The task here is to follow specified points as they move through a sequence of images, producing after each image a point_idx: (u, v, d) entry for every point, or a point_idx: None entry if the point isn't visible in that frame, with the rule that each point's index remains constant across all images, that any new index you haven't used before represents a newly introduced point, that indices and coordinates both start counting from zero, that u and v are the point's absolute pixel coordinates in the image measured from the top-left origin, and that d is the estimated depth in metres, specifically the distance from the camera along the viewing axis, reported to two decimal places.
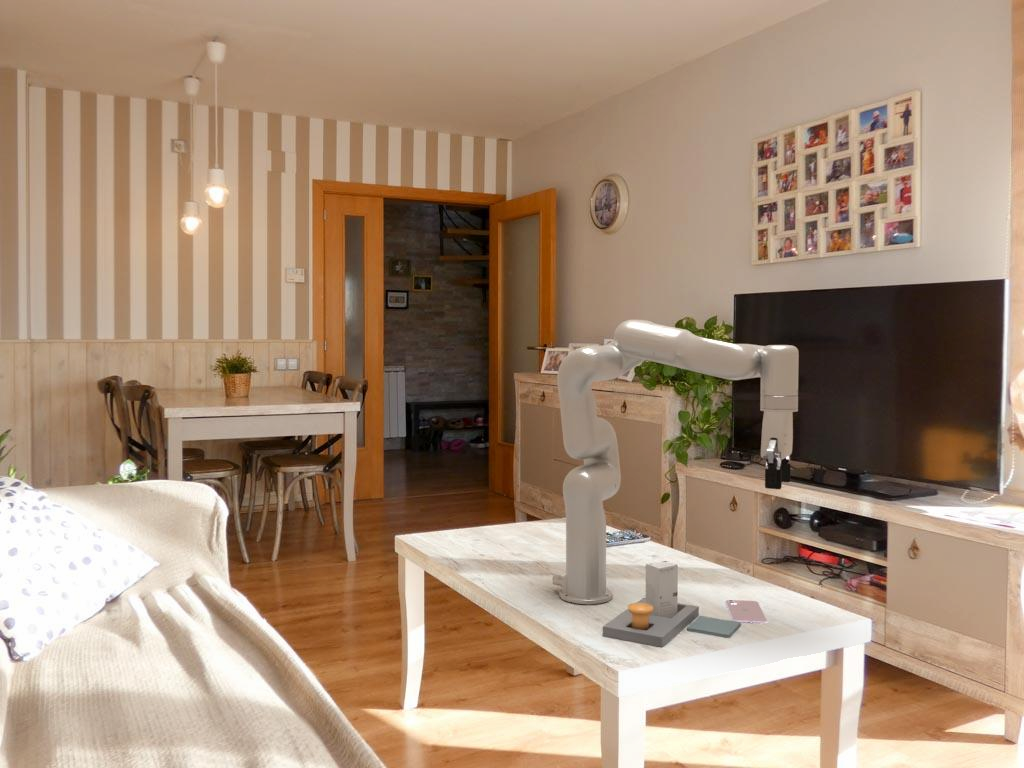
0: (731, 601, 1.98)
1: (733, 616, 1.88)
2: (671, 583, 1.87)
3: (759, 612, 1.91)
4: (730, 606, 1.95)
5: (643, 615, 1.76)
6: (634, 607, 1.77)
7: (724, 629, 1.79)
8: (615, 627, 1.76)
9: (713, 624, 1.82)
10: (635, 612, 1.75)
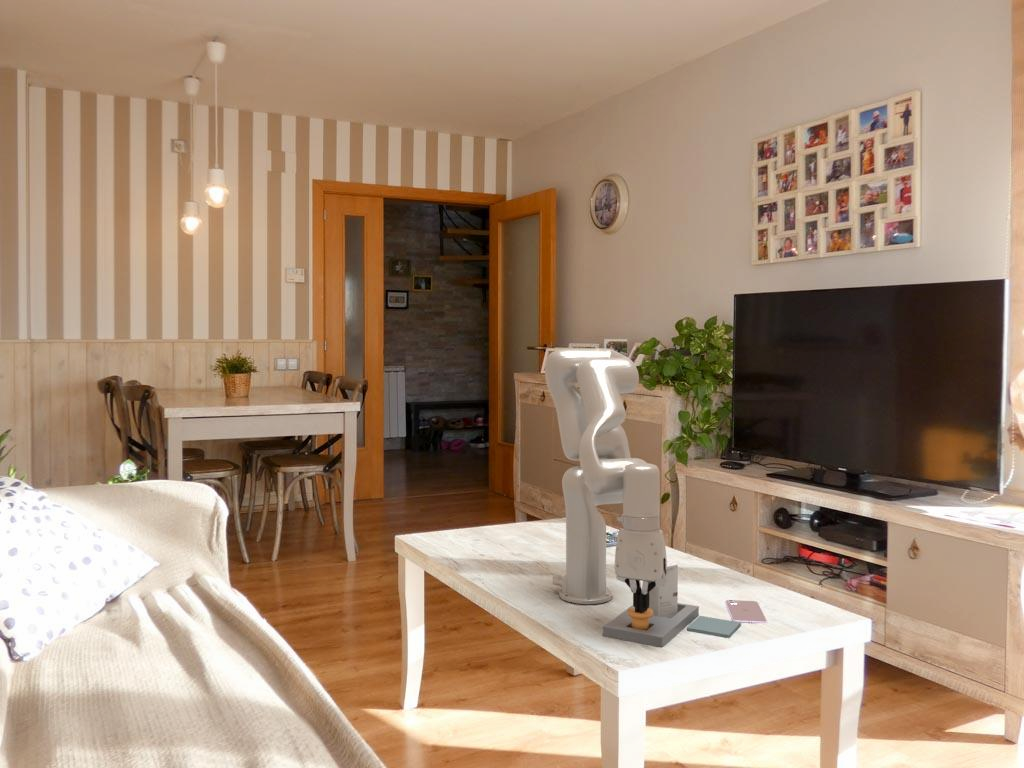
0: (731, 601, 1.98)
1: (733, 616, 1.88)
2: (671, 583, 1.87)
3: (759, 612, 1.91)
4: (730, 606, 1.95)
5: (643, 619, 1.76)
6: (634, 611, 1.77)
7: (724, 629, 1.79)
8: (615, 627, 1.76)
9: (713, 624, 1.82)
10: (635, 616, 1.75)
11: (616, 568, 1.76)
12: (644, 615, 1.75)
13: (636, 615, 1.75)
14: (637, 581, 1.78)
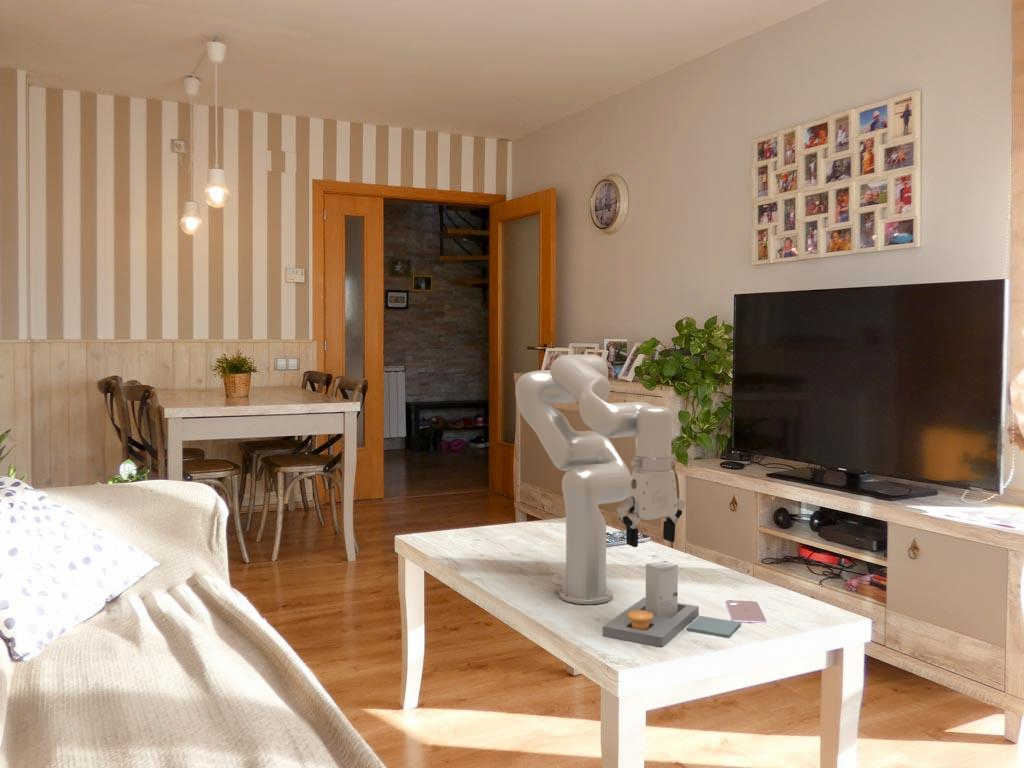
0: (731, 601, 1.98)
1: (732, 616, 1.88)
2: (671, 583, 1.87)
3: (759, 612, 1.90)
4: (730, 606, 1.95)
5: (643, 622, 1.76)
6: (634, 614, 1.77)
7: (724, 629, 1.79)
8: (615, 627, 1.76)
9: (713, 624, 1.82)
10: (635, 620, 1.75)
11: (642, 512, 1.78)
12: (644, 618, 1.75)
13: (636, 618, 1.75)
14: (631, 519, 1.81)
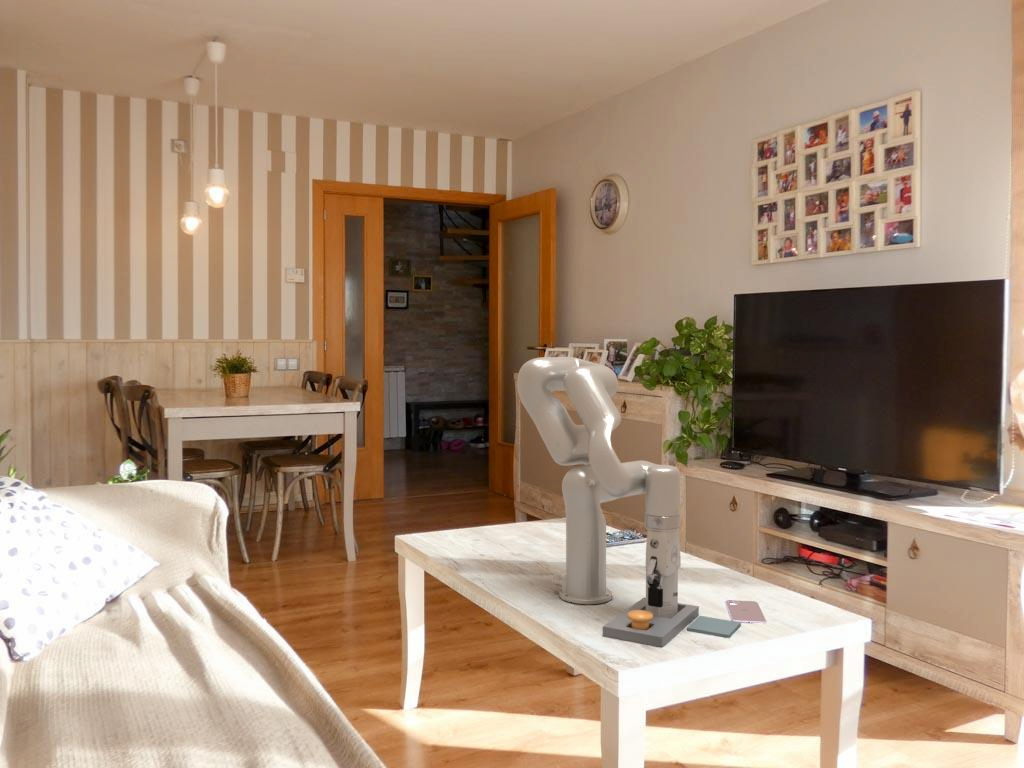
0: (731, 601, 1.98)
1: (732, 616, 1.88)
2: (671, 583, 1.87)
3: (758, 612, 1.90)
4: (730, 606, 1.95)
5: (643, 622, 1.76)
6: (634, 614, 1.77)
7: (724, 629, 1.79)
8: (615, 627, 1.76)
9: (713, 624, 1.82)
10: (635, 620, 1.75)
11: (666, 570, 1.82)
12: (644, 618, 1.75)
13: (636, 618, 1.75)
14: None
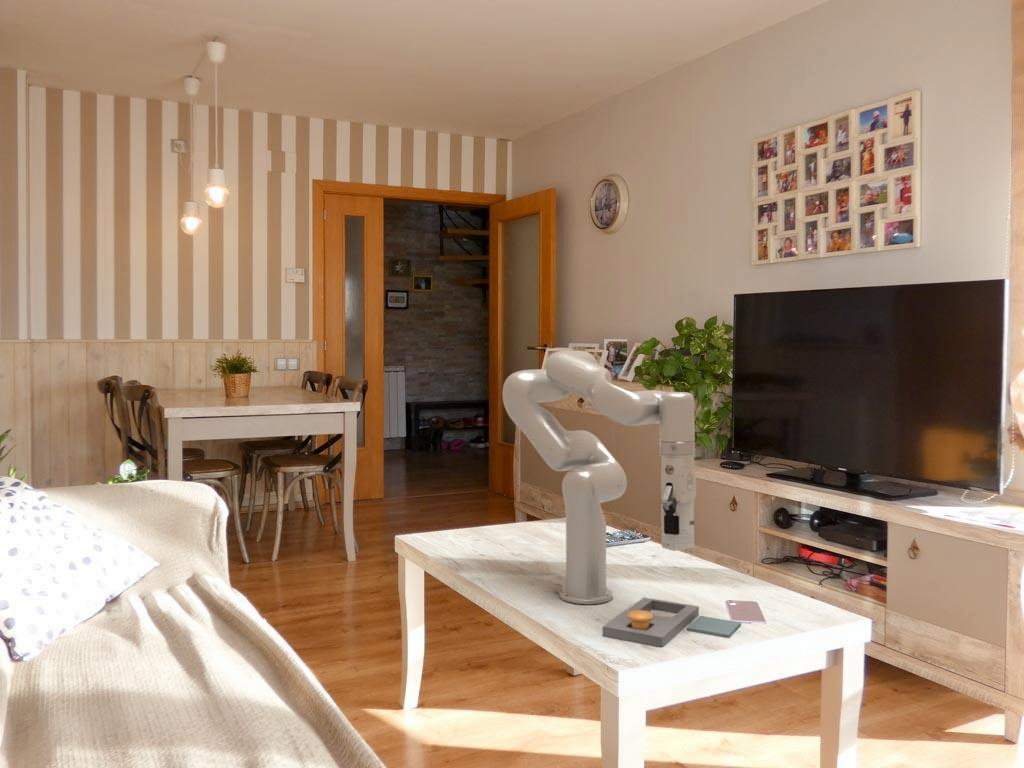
0: (731, 601, 1.98)
1: (732, 616, 1.88)
2: (687, 511, 1.84)
3: (758, 612, 1.90)
4: (729, 606, 1.95)
5: (643, 622, 1.76)
6: (634, 614, 1.77)
7: (724, 629, 1.79)
8: (615, 627, 1.76)
9: (713, 624, 1.82)
10: (635, 620, 1.75)
11: (682, 496, 1.80)
12: (644, 618, 1.75)
13: (636, 618, 1.75)
14: None
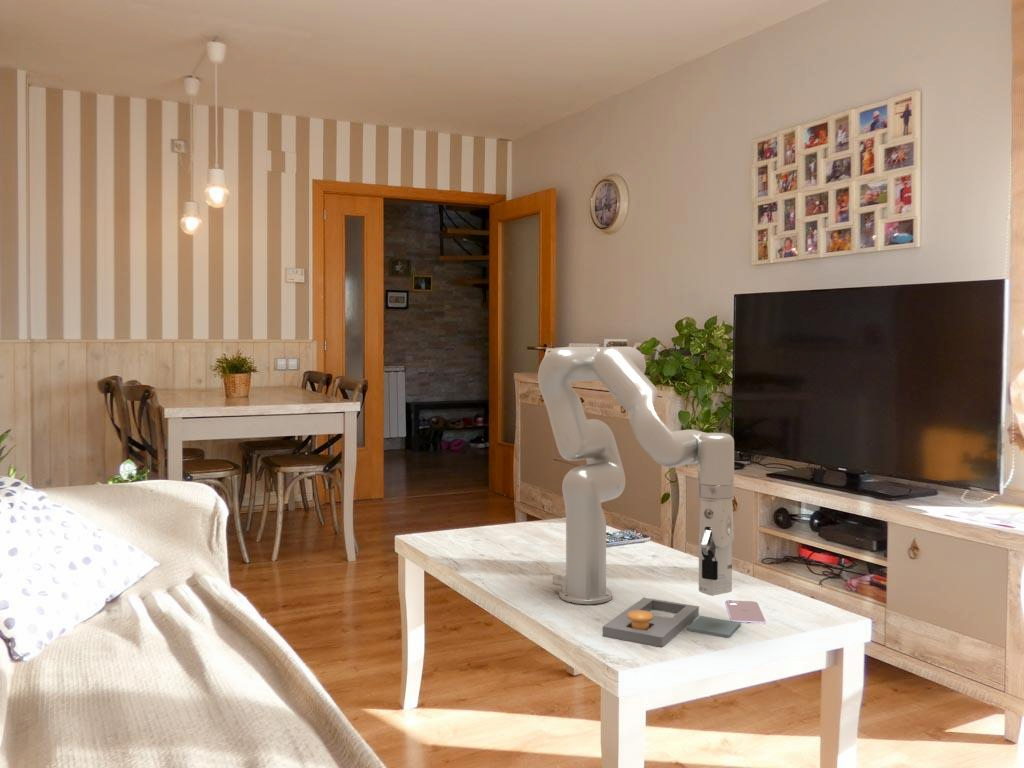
0: (731, 601, 1.98)
1: (731, 616, 1.88)
2: (725, 555, 1.80)
3: (758, 612, 1.90)
4: (729, 606, 1.95)
5: (643, 622, 1.76)
6: (634, 614, 1.77)
7: (724, 629, 1.79)
8: (615, 627, 1.76)
9: (713, 624, 1.82)
10: (635, 620, 1.75)
11: (721, 540, 1.76)
12: (644, 618, 1.75)
13: (636, 618, 1.75)
14: None
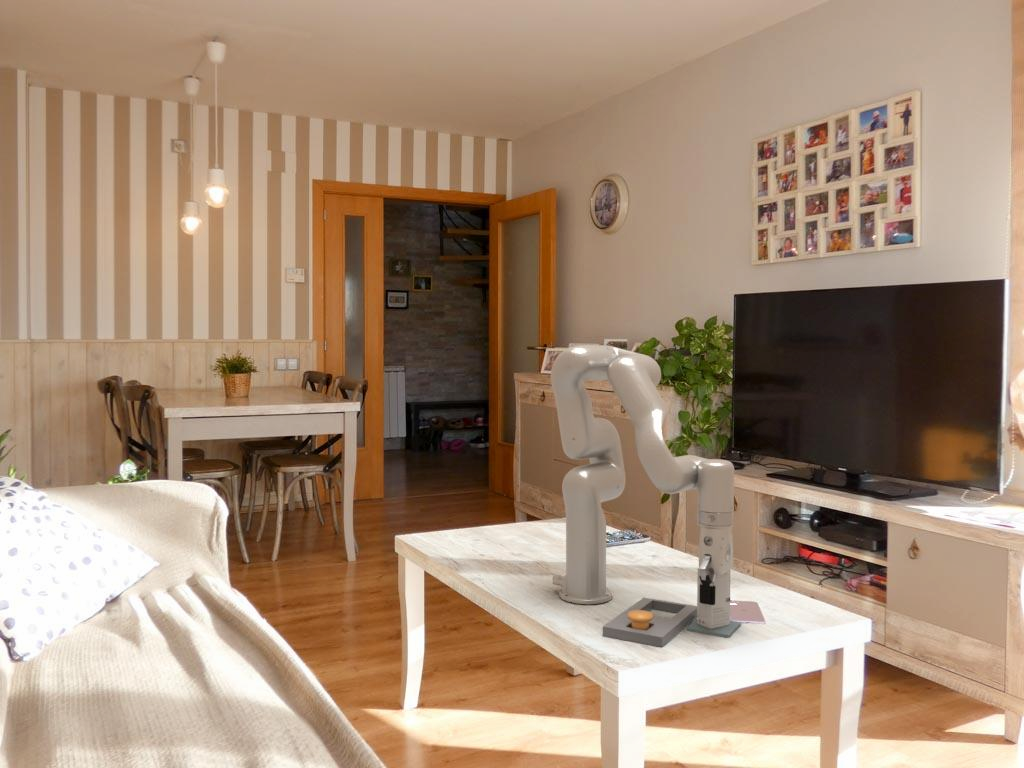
0: (731, 601, 1.98)
1: (731, 616, 1.88)
2: (724, 588, 1.81)
3: (758, 613, 1.90)
4: None
5: (643, 622, 1.76)
6: (634, 614, 1.77)
7: (724, 629, 1.79)
8: (615, 627, 1.76)
9: None
10: (635, 620, 1.75)
11: (721, 568, 1.76)
12: (644, 618, 1.75)
13: (636, 618, 1.75)
14: None
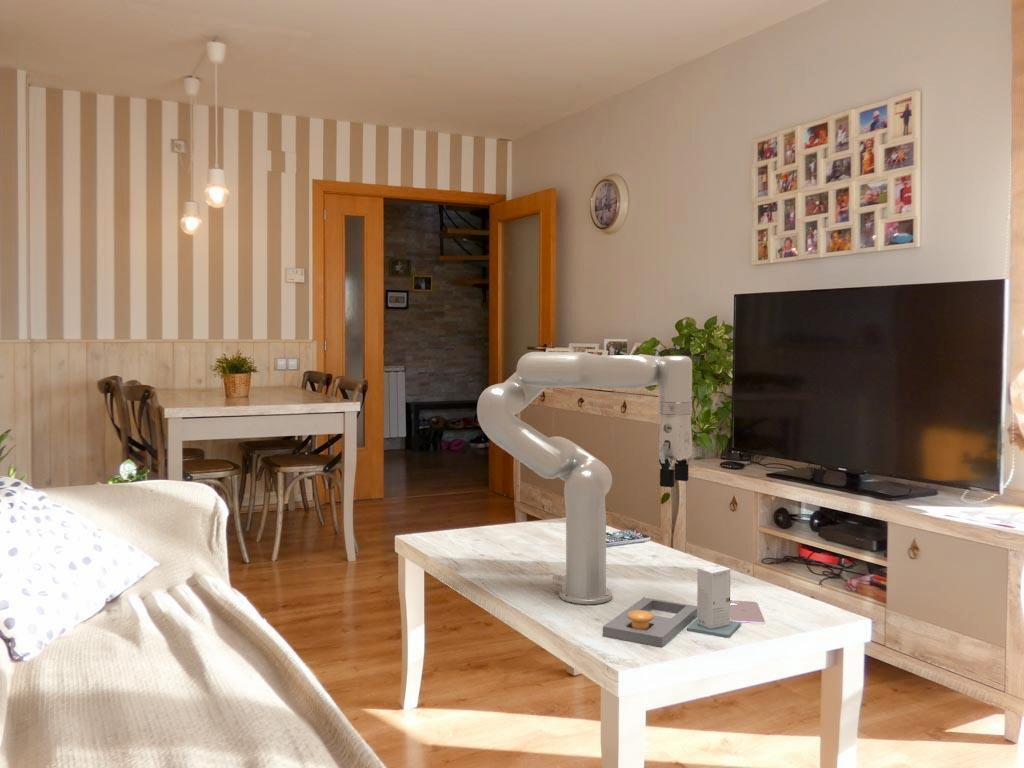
0: (730, 601, 1.98)
1: (731, 616, 1.88)
2: (724, 588, 1.81)
3: (758, 613, 1.90)
4: None
5: (643, 622, 1.76)
6: (634, 614, 1.77)
7: (724, 629, 1.79)
8: (615, 627, 1.76)
9: None
10: (635, 620, 1.75)
11: (679, 453, 1.91)
12: (644, 618, 1.75)
13: (636, 618, 1.75)
14: None
